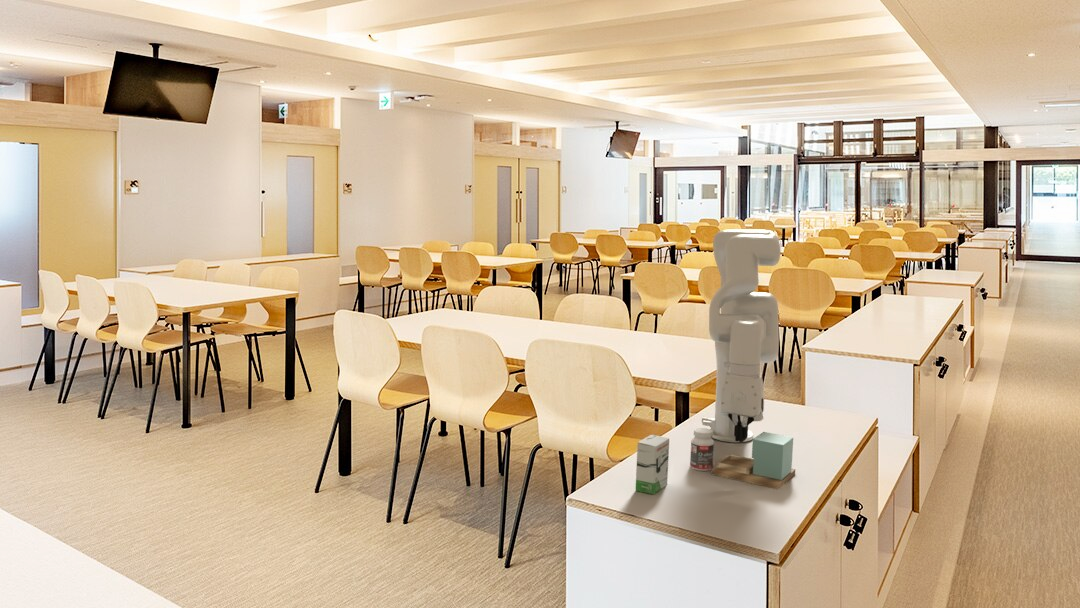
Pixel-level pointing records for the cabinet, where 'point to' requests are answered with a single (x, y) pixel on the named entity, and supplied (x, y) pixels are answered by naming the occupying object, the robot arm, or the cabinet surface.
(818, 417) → the cabinet surface
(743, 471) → the board
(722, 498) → the cabinet surface
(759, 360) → the robot arm
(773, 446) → the mint green block
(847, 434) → the cabinet surface
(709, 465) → the pill bottle
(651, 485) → the ink box
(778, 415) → the cabinet surface
